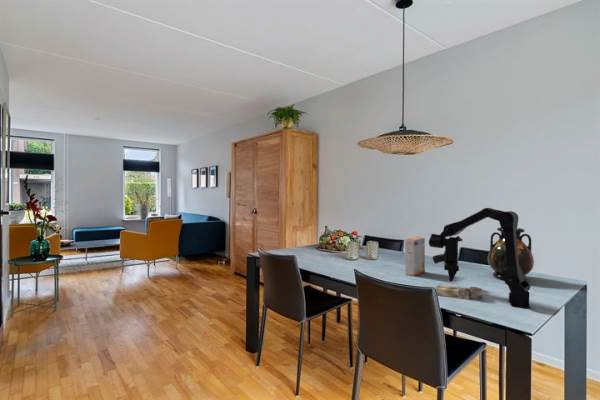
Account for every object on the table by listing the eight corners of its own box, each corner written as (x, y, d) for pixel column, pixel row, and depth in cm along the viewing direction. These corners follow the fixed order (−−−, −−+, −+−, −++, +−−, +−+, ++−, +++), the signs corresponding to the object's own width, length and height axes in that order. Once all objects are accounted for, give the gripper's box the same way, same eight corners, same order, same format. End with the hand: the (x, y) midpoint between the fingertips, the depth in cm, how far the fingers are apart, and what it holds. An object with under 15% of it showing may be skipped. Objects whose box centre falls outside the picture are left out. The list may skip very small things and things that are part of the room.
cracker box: (415, 270, 196) (415, 236, 195) (425, 272, 191) (425, 237, 191) (404, 274, 186) (404, 238, 185) (414, 276, 182) (414, 239, 181)
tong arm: (481, 296, 146) (481, 287, 146) (482, 299, 142) (483, 290, 141) (437, 291, 154) (437, 282, 154) (437, 294, 149) (437, 285, 149)
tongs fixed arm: (468, 297, 146) (468, 289, 146) (468, 299, 143) (469, 291, 143) (435, 293, 152) (435, 285, 152) (435, 294, 149) (435, 287, 149)
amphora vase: (488, 280, 174) (489, 229, 173) (486, 271, 193) (487, 225, 192) (537, 286, 164) (538, 231, 163) (529, 276, 183) (530, 227, 182)
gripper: (434, 245, 169) (433, 274, 169) (432, 251, 152) (432, 284, 152) (457, 247, 164) (457, 277, 164) (459, 253, 147) (458, 287, 147)
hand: (451, 281), depth 157 cm, fingers closed
